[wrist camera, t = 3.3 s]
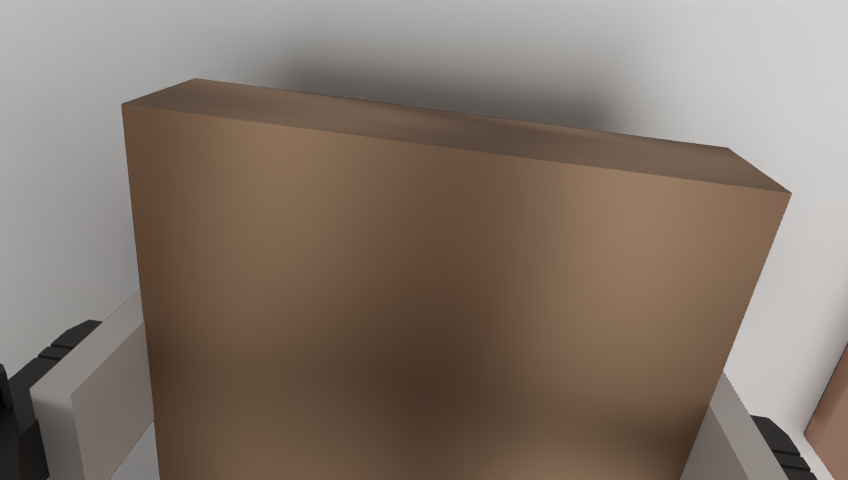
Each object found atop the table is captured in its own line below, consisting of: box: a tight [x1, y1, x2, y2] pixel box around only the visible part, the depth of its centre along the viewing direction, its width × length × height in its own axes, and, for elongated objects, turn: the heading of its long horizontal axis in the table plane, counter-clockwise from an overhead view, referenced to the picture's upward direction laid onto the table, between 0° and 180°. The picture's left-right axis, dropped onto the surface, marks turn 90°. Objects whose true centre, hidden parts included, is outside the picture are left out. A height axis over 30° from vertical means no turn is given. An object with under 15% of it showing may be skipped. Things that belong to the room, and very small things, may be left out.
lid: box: [121, 78, 792, 480], centre depth 14 cm, size 12×12×3 cm
